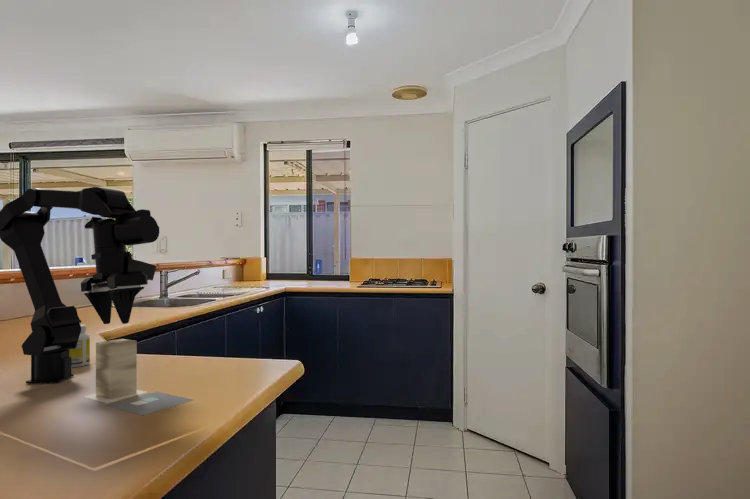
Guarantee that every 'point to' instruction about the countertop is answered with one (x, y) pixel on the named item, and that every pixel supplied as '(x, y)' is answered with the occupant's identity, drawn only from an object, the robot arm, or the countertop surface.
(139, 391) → the pad
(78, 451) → the countertop surface
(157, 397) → the gray tile
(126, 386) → the birch block
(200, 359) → the countertop surface
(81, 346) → the supplement bottle
